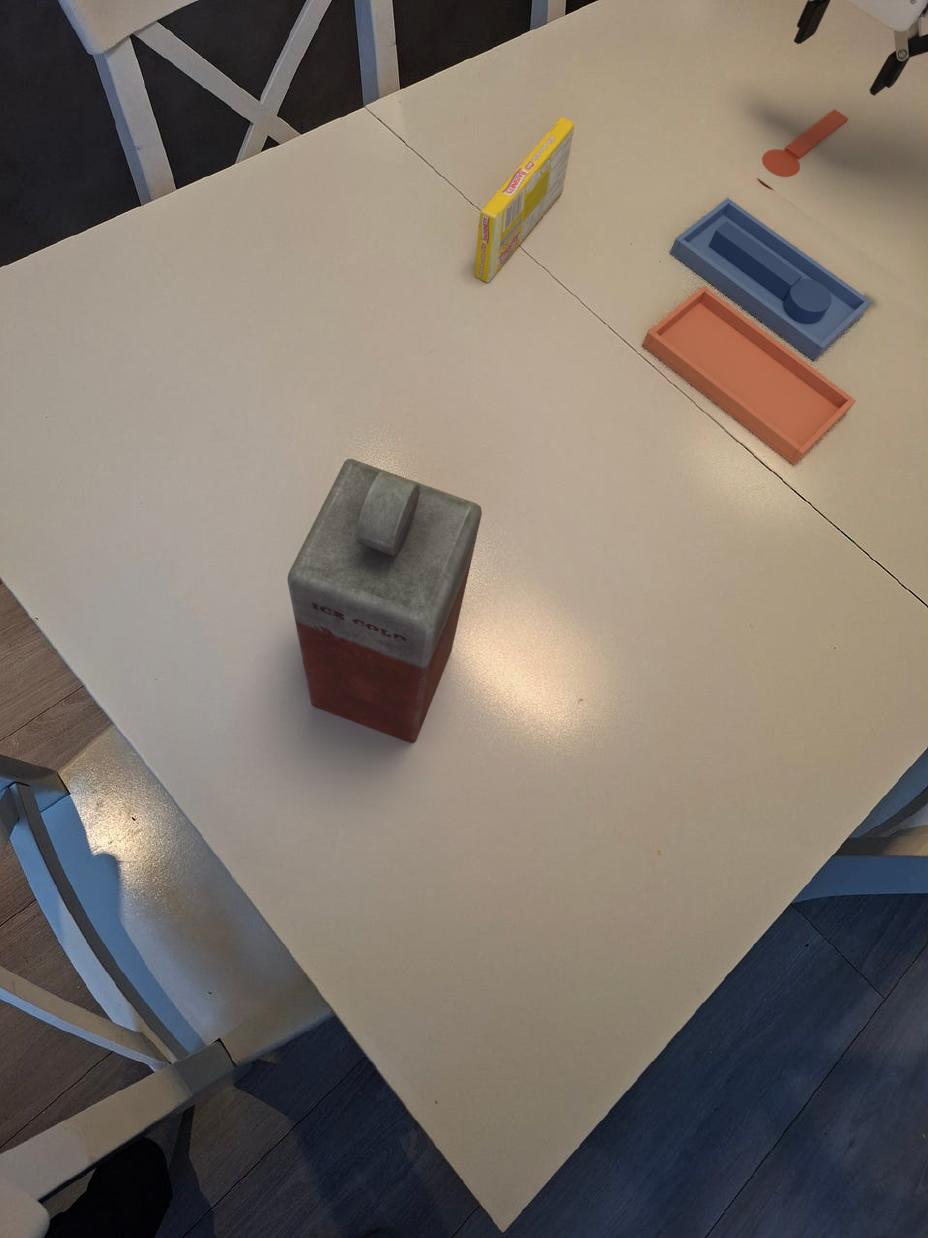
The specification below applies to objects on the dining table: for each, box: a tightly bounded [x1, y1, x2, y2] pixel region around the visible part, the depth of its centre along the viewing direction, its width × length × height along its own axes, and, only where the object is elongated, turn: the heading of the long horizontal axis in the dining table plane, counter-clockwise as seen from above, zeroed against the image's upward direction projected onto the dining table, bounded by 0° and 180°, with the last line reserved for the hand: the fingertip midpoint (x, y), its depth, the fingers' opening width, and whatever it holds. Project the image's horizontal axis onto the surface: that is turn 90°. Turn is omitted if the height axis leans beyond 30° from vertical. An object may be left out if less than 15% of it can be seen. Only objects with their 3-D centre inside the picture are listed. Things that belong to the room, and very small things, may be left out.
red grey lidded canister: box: [287, 458, 483, 744], centre depth 60 cm, size 9×11×28 cm
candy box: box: [473, 116, 575, 284], centre depth 90 cm, size 16×2×8 cm, turn 149°
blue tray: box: [669, 197, 873, 362], centre depth 93 cm, size 19×9×2 cm, turn 46°
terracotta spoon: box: [756, 109, 849, 191], centre depth 102 cm, size 14×4×2 cm, turn 136°
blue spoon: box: [709, 221, 832, 324], centre depth 93 cm, size 14×4×2 cm, turn 46°
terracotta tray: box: [641, 285, 857, 466], centre depth 88 cm, size 19×9×2 cm, turn 46°
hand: (840, 62), depth 92 cm, fingers open, 9 cm apart
